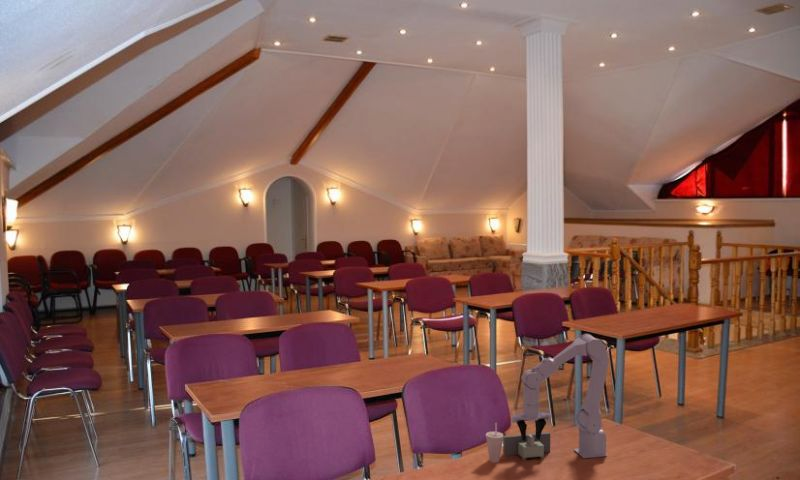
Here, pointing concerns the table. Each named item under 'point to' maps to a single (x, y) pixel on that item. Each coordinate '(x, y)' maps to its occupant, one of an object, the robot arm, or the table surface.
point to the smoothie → (494, 445)
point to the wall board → (512, 441)
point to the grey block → (530, 448)
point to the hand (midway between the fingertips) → (530, 439)
